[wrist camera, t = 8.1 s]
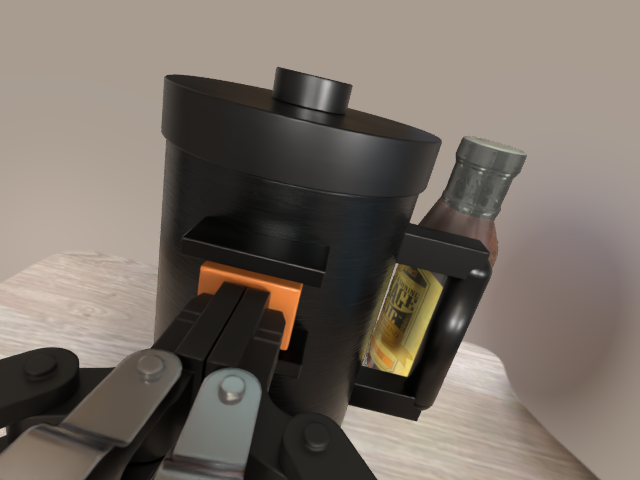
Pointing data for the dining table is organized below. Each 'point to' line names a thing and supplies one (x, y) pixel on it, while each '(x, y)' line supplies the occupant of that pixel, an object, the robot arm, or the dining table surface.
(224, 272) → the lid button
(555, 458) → the dining table surface
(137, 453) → the robot arm
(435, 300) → the sauce bottle
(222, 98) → the jug
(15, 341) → the dining table surface
